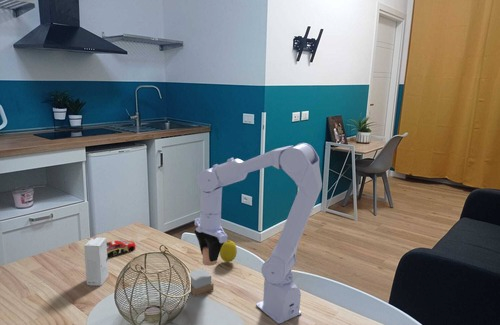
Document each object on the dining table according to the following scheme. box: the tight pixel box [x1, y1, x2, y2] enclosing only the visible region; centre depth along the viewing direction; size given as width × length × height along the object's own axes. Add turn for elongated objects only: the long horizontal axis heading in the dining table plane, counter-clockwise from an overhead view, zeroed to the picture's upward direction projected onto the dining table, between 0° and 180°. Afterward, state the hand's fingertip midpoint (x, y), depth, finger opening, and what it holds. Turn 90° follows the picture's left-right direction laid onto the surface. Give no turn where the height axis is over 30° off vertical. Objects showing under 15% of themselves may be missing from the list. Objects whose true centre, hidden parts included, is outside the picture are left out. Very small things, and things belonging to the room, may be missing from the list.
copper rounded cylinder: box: [202, 246, 218, 267], centre depth 103 cm, size 4×4×4 cm
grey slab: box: [189, 268, 212, 289], centre depth 104 cm, size 5×5×2 cm
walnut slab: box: [190, 281, 215, 298], centre depth 104 cm, size 6×6×2 cm
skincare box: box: [83, 237, 109, 287], centre depth 105 cm, size 6×4×12 cm
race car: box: [106, 240, 136, 259], centre depth 124 cm, size 13×5×4 cm, turn 132°
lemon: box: [219, 239, 238, 264], centre depth 120 cm, size 6×6×8 cm
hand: (209, 257), depth 103 cm, fingers closed on copper rounded cylinder, 4 cm apart
